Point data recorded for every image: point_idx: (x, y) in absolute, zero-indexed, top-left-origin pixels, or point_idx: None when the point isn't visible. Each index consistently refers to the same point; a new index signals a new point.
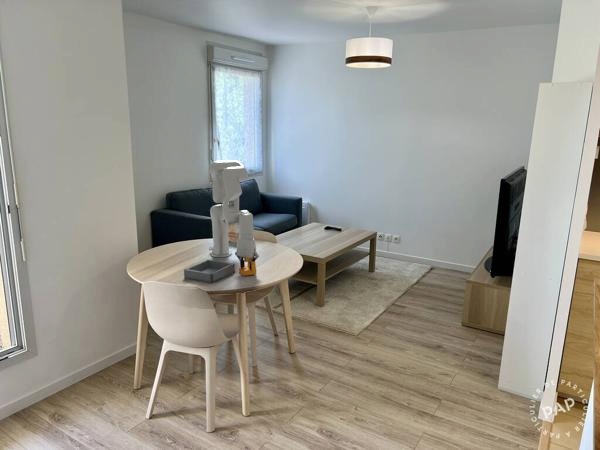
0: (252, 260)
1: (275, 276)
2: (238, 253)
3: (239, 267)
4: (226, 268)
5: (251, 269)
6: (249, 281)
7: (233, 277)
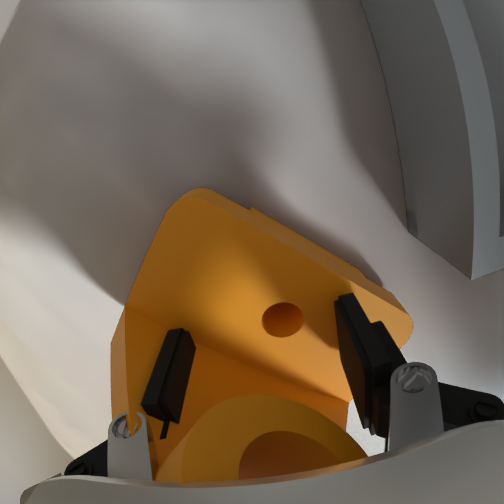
0: (115, 450)
1: (31, 367)
2: (498, 490)
3: (389, 306)
4: (435, 41)
5: (162, 334)
6: (36, 132)
7: (282, 81)
